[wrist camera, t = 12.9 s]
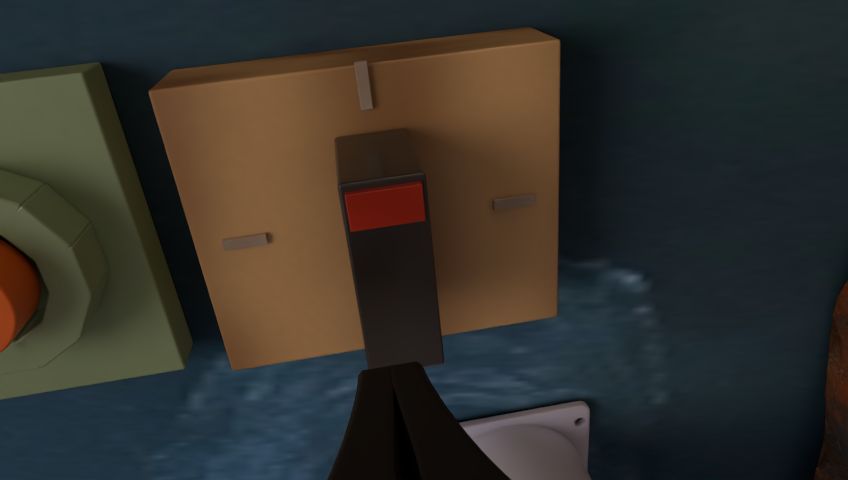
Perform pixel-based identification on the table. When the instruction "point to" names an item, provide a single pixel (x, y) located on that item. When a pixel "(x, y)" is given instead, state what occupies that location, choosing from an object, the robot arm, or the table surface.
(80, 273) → the button box
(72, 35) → the table surface
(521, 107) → the control panel
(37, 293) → the button
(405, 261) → the red-striped dark box
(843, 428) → the camel toy
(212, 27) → the table surface
